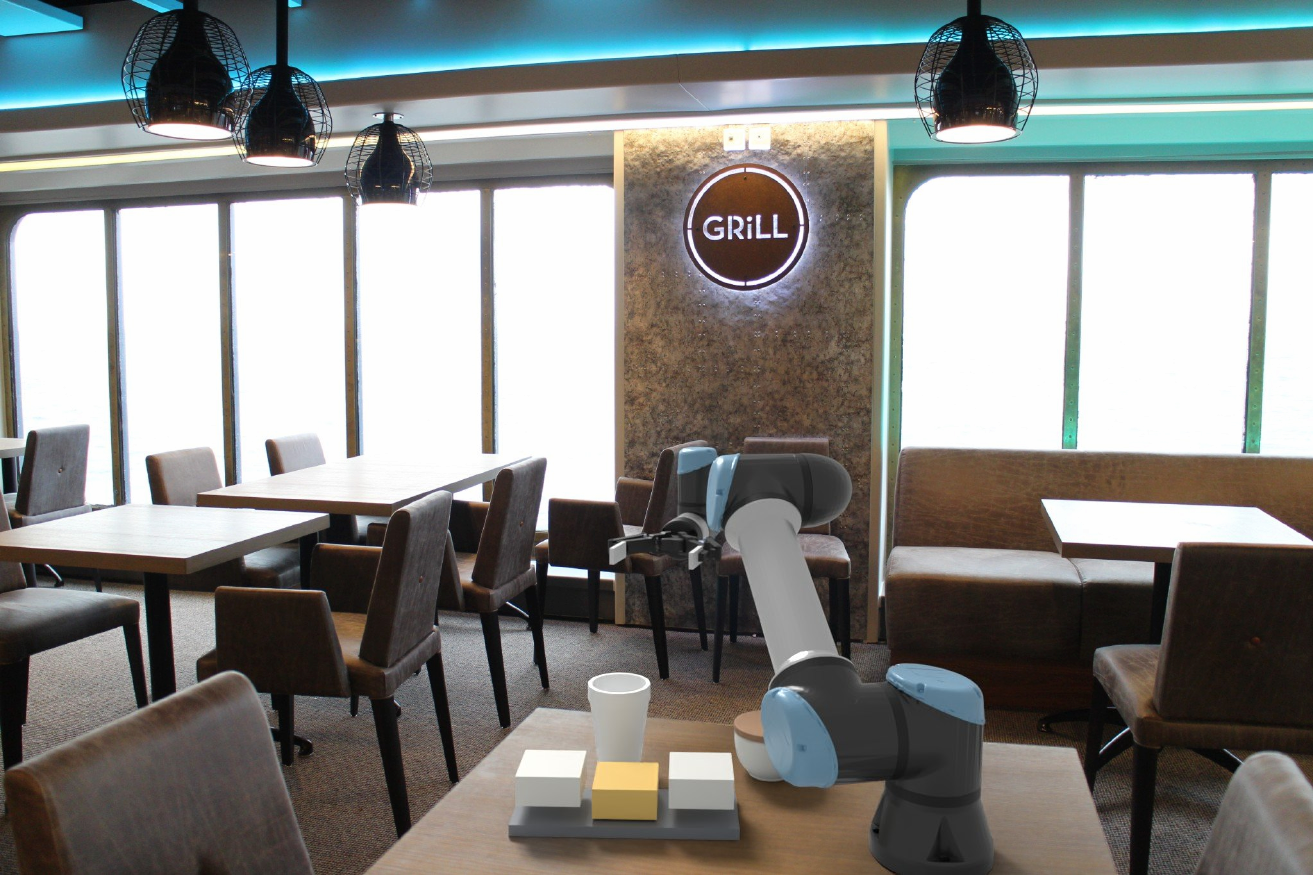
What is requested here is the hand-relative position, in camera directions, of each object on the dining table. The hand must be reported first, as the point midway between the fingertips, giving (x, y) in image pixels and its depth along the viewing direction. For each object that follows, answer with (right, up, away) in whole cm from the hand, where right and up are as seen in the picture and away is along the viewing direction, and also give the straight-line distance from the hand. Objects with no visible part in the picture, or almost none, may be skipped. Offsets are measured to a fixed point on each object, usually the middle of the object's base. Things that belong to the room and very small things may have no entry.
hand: (650, 558), depth 161 cm
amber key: (-3, -30, -28) cm, 41 cm away
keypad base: (-3, -32, -28) cm, 42 cm away
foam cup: (-5, -30, -12) cm, 33 cm away
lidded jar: (+18, -31, -14) cm, 38 cm away
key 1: (-13, -28, -28) cm, 42 cm away
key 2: (+7, -28, -29) cm, 41 cm away
